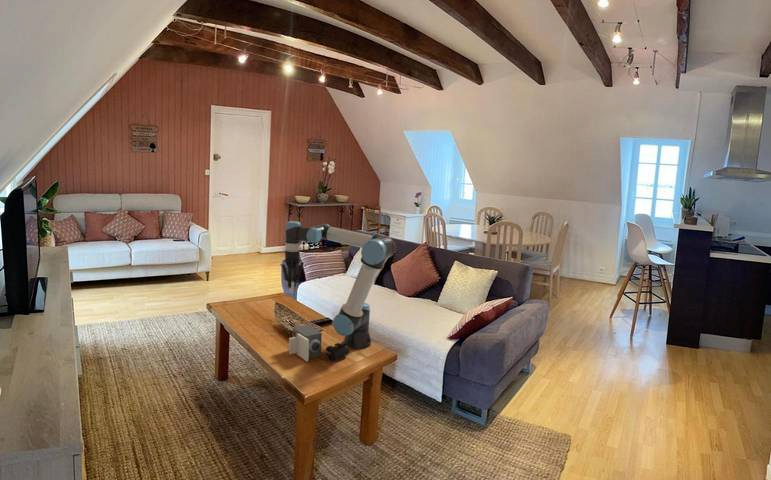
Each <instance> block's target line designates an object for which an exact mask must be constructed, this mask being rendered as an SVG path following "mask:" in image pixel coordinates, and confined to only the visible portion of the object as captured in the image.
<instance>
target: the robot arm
mask: <svg viewBox="0 0 771 480" xmlns="http://www.w3.org/2000/svg"><path fill="white" fill-rule="evenodd" d="M321 240H327V241H331V242H335V243H339V244H344V245H348V246H352V247H355V248H357V247H358V248H361V251H360V256H361V258H360V262H361V266H360V269H359V271H358V273H357V275H356V278H355V280H354V283H353V285H352V288H351V291H350V293H349V295H348V298H347V300H346V303H343V304H342V305H341V307H340V309H339V312H338V314H337V315H335V316H334V317H333V319H332V327H333V329H334V331H335V332H336V334H338V335H340V336H344V338H343V344H346V345H347V346H348V348H350V349H357V350H358V349H359V350H361V349H366V348H369V347H370V346H371V345H372V338H371V333H370V315H371V314H370V313H371V306H370V304H369V303H367V302H366V300H367V298H368V295H369V293H370V291H371V288H372V286H373V283H374V281H375V279H376V276H377V274H378V271H382V269H383V268H384V265H385V262H386V260H387V259H389V258H391V257H392V256H394V253H395V252H396V243H395V241H394V240H393V239H392V238H391V237H390V236H387V235H381V234H375V233H374V234H373V235H372V234H368V233H367V234H366V233H362V232H358V231H352V230H349V229H345V228H339V227H334V226H330V225H329V224H328V223H322V224H318V225H314V226H302V225H301V222H300V221H297V220H296V221H295V220H291V221H287V222H286V223H285V243H284V244H285V247H284V248H285V251H284V252H285V253H284V254H285V255H284V256H285V257H284V258H285V259H284V262H282V263H280V267H281V269H282V272H283V278H284V281H286V282H287V288H289V289H288V291H289V294H292V295H293V294H295V288H296V286H297V285H296V284H297V283H296V282H297V281H299V280H300V277H301V273H302V269H303V266H304V265H305V264H304V263H305V262H303V261H301V260H300V255H301V253H300V249H301V247H300V246H301V244H300V243H301V241H302V242H308V243H312V244H313V243H315V244H316V243H319V242H320V241H321Z"/></svg>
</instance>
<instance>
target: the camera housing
mask: <svg viewBox="0 0 771 480" xmlns="http://www.w3.org/2000/svg"><path fill="white" fill-rule="evenodd" d="M299 333H300V334H301V335H303V336H304V337H306V338H307V339H308V340H309V359H311V358H316V357H319V356H321V355H322V339H323V337H322V336H323V335H322V334H323V332H321V331H320V330H318V329H316V328H314V327H313V326H311V325H310V324H304V325H299V326H293V327H292V338H293V337H297V334H299Z"/></svg>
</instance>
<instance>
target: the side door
mask: <svg viewBox="0 0 771 480" xmlns="http://www.w3.org/2000/svg"><path fill="white" fill-rule="evenodd" d="M288 354H289V355H293V354H296V355H297V356H299V357H300V358H301V359H302V360H304V361H305V362H309V359H310V358H309V340H308V339H307V338H306V337H304V336H303V335H301V334H300V333H299V334H297V337H293V336H292V337H289V338H288Z"/></svg>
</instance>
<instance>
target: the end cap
mask: <svg viewBox="0 0 771 480" xmlns="http://www.w3.org/2000/svg"><path fill="white" fill-rule="evenodd" d="M349 348H350V347H348V346H347V345H346V344H344V343H341V342H340V343H339V342H338V343H334V346H332V345H329V346H326V348H325V351H326V353H325V357H326V358H325V359H326V360H328V361H330V362H333V361H337V360H339V359H342V358H344V357H346V356H347V355H349V353H350V349H349Z"/></svg>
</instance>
